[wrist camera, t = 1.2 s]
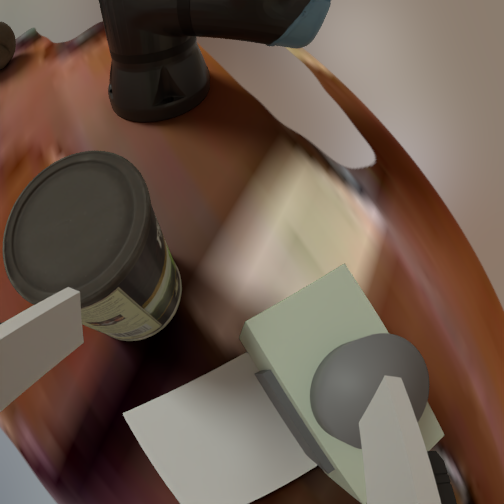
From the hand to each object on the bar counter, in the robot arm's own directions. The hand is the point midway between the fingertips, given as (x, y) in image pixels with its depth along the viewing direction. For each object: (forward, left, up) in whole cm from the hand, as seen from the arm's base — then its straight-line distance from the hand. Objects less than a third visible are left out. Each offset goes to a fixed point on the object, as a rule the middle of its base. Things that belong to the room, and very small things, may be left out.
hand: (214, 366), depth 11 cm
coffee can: (-4, -11, -16) cm, 20 cm away
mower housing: (+4, +5, -16) cm, 17 cm away
